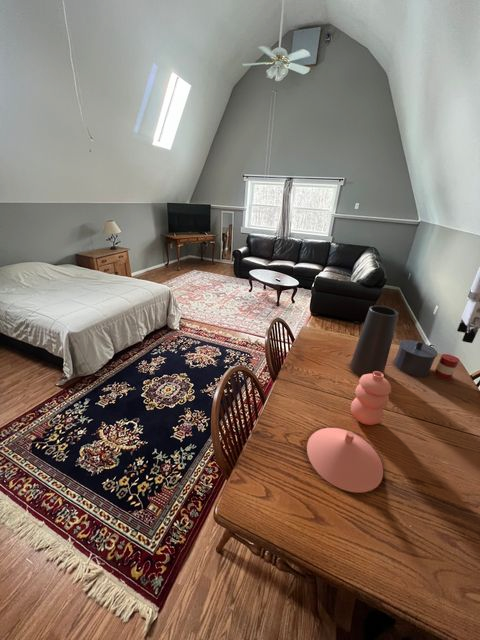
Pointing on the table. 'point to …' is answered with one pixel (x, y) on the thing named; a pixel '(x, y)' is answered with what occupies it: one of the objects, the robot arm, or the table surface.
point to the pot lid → (418, 349)
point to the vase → (374, 341)
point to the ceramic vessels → (352, 441)
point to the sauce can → (446, 366)
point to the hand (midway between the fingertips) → (464, 336)
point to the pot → (413, 363)
